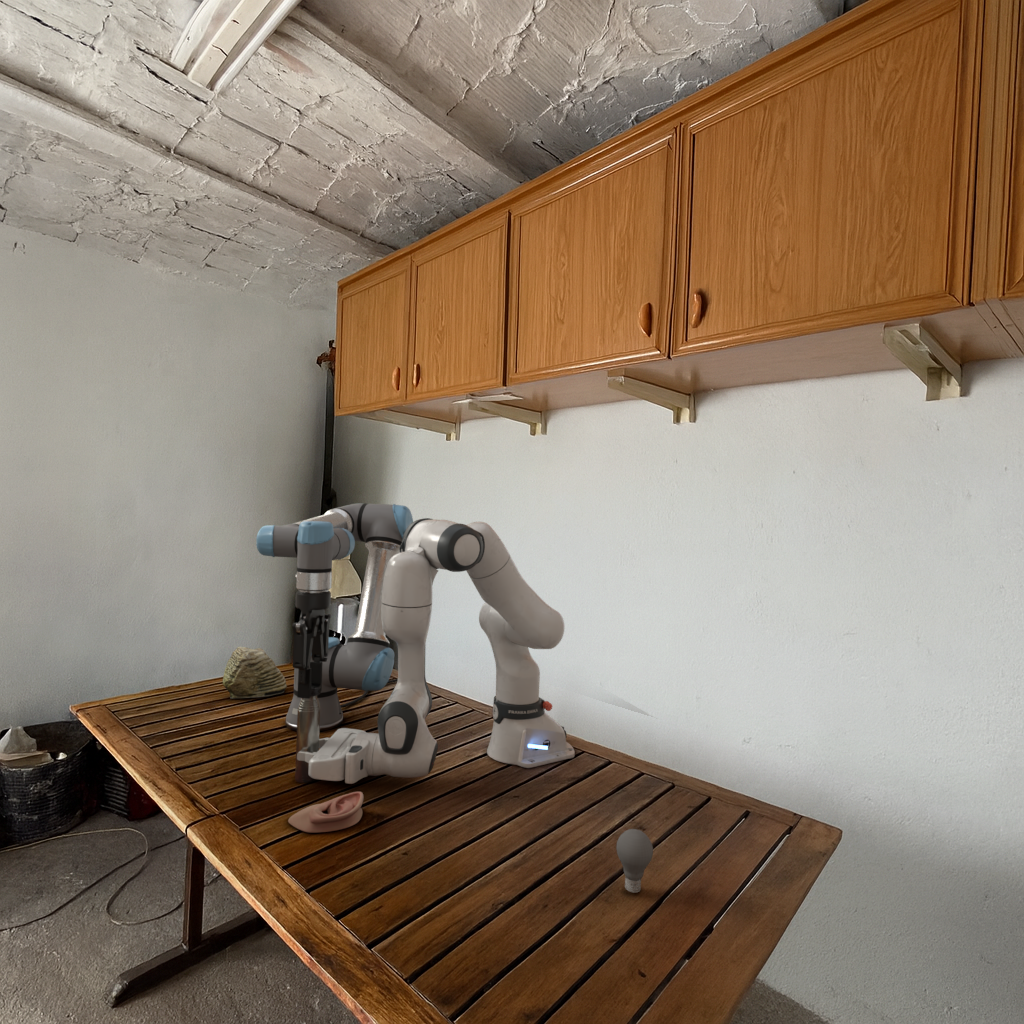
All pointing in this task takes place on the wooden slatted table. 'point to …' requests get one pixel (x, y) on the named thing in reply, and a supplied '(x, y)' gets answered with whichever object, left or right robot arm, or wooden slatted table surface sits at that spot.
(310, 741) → the bottle
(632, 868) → the light bulb
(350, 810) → the anatomical model
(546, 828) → the wooden slatted table surface
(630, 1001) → the wooden slatted table surface
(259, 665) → the fossil
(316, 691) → the cap
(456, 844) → the wooden slatted table surface
